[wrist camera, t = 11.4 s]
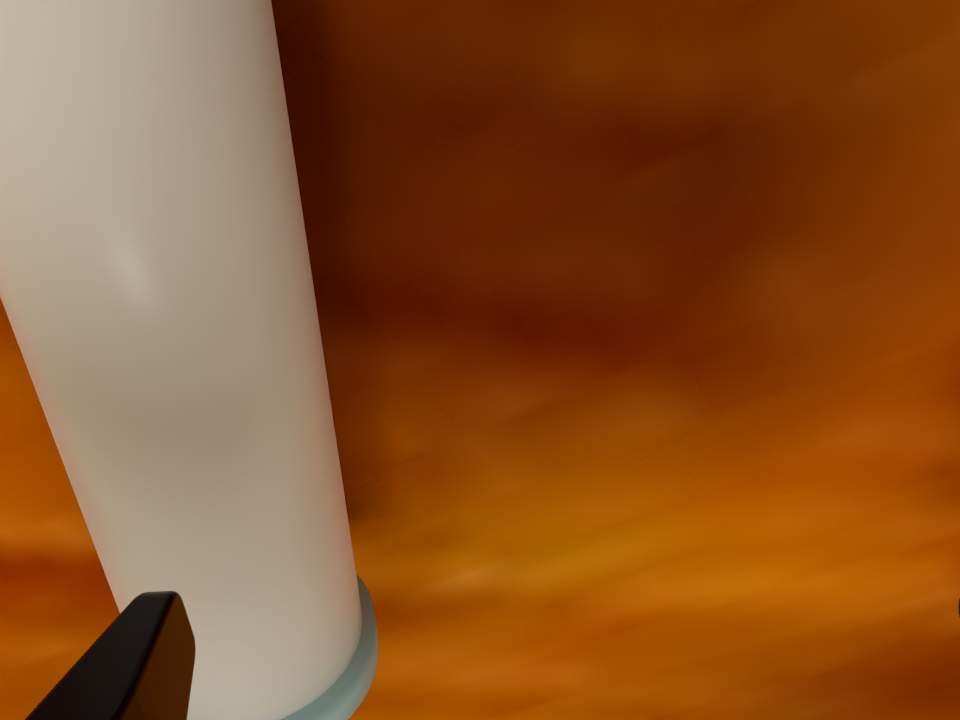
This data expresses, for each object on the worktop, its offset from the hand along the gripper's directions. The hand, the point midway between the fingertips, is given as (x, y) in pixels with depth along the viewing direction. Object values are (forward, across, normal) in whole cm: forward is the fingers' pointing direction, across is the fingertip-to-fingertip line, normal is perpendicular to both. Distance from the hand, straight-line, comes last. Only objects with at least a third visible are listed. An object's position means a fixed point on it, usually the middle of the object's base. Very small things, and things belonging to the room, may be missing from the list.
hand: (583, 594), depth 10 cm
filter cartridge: (+10, +6, +1) cm, 12 cm away
